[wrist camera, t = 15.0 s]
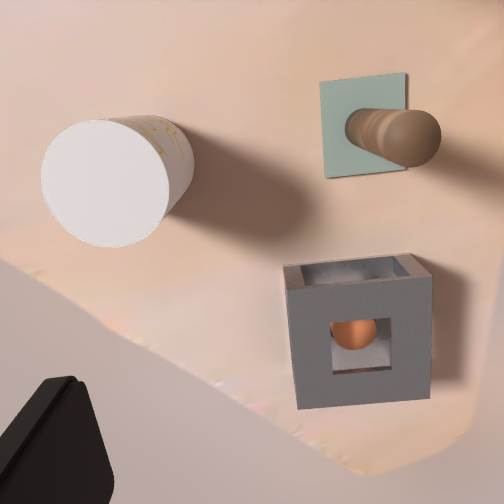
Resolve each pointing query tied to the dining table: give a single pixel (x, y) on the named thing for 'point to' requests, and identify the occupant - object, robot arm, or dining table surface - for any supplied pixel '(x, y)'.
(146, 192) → the cup
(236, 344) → the dining table surface
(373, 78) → the mat
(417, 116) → the brown wooden rod
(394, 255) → the guard cage
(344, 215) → the dining table surface
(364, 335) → the breaker plunger
